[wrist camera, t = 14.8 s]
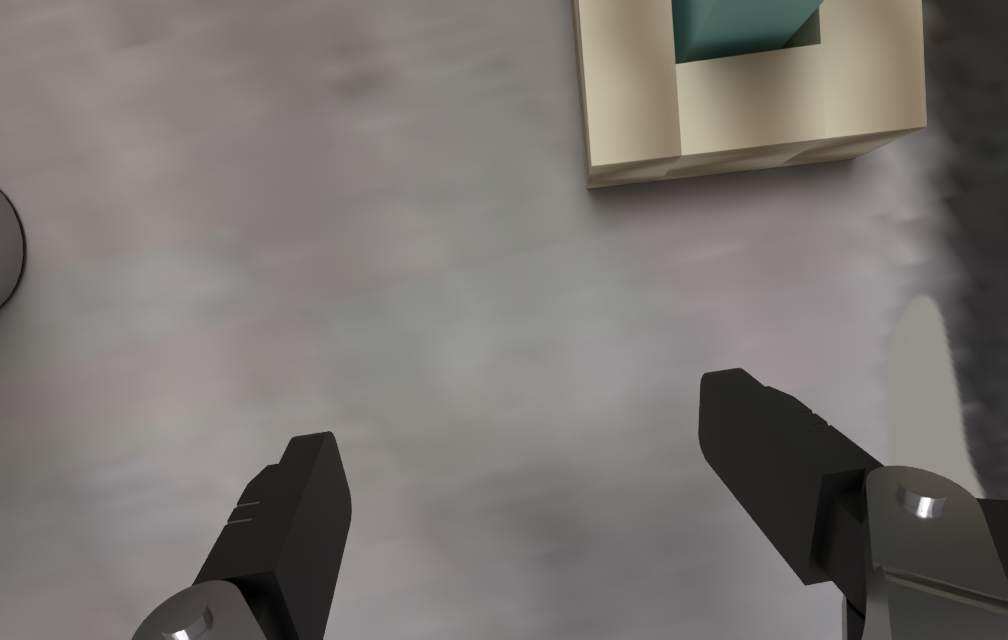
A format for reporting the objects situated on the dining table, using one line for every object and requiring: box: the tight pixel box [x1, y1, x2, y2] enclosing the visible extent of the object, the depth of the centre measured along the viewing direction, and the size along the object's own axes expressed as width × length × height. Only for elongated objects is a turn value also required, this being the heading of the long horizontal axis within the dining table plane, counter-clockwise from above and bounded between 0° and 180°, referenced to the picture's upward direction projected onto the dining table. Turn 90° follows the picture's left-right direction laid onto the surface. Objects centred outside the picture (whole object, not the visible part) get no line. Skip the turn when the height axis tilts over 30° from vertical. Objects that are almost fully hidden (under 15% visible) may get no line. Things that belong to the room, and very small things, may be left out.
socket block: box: [572, 0, 927, 189], centre depth 23 cm, size 13×13×5 cm
